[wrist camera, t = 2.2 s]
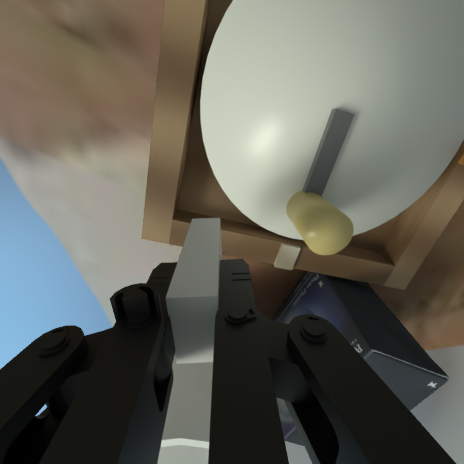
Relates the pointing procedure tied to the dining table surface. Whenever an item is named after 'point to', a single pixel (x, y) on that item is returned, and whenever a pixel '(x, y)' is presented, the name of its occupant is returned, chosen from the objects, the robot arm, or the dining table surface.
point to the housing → (220, 206)
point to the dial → (332, 110)
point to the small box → (363, 338)
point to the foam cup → (188, 415)
